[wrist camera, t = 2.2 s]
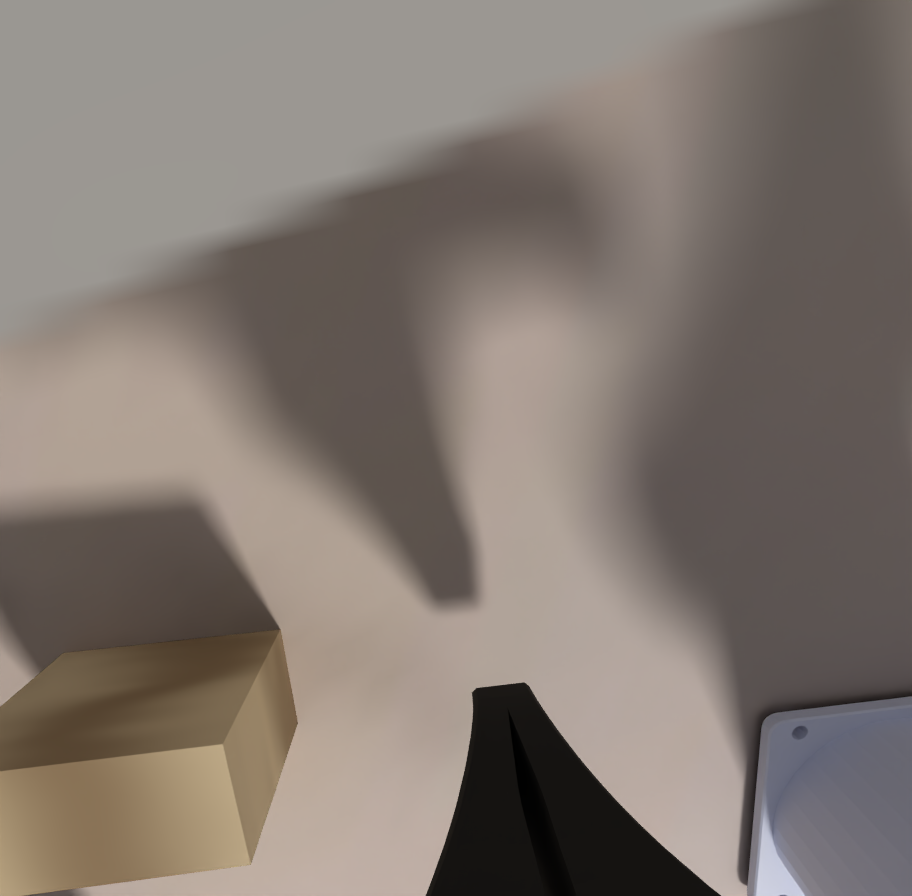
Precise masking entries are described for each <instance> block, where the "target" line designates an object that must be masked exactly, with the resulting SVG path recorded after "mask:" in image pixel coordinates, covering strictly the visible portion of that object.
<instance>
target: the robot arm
mask: <svg viewBox="0 0 912 896" xmlns="http://www.w3.org/2000/svg"><path fill="white" fill-rule="evenodd" d="M472 697H473V722H472V731H471V738H470V744H469V750H468V756H467V762H466V767H465V771H464V776H463V780H462V784H461V788H460V792H459V797H458V801H457V804H456V808H455V812H454V815H453V819H452V822H451V825H450V829H449V832H448V835H447V838H446V841H445V844H444V847H443V850H442V853H441V856H440V859H439V861H438V864H437V867H436V870H435V873H434V875H433V878H432V881H431V884H430V886H429V889H428V891H427V894H426V896H721V895H720V894H718V893H717V892H716V891H714V890H713V889H712V888H711V887H709V886H708V885H707V884H706V883H705V882H704V881H702V880H701V879H700V878H699V877H698V876H697V875H695V874H694V873H693V872H692V871H691V870H690V869H688V868H687V867H686V866H685V865H684V864H683V863H682V862H680V861H679V860H678V859H677V858H676V857H675V856H673V855H672V854H671V853H670V852H669V851H668V850H666V849H665V848H664V847H663V846H662V845H661V844H660V843H659V842H658V841H657V840H656V839H655V838H653V837H652V836H651V835H650V834H649V833H648V832H647V831H646V830H645V829H644V828H643V827H642V826H641V825H640V824H639V823H638V822H637V821H636V820H635V819H634V818H633V817H632V816H631V815H630V814H629V813H628V812H627V811H626V810H625V809H624V808H623V807H622V806H621V805H620V804H619V803H618V802H617V801H616V800H615V799H614V797H613V796H612V795H611V794H610V793H609V792H608V791H607V790H606V789H605V788H604V787H603V785H602V784H601V783H600V782H599V781H598V780H597V778H596V777H595V776H594V775H593V774H592V773H591V772H590V770H589V769H588V768H587V767H586V766H585V764H584V763H583V762H582V761H581V760H580V758H579V757H578V756H577V755H576V753H575V752H574V751H573V749H572V748H571V747H570V746H569V744H568V743H567V742H566V740H565V739H564V738H563V736H562V735H561V734H560V733H559V731H558V730H557V728H556V727H555V726H554V724H553V723H552V721H551V720H550V719H549V717H548V716H547V714H546V713H545V711H544V710H543V708H542V707H541V705H540V704H539V702H538V701H537V699H536V697H535V696H534V694H533V692H532V691H531V689H530V687H529V686H528V685H527V684H526V683H516V684H508V685H499V686H491V687H482V688H476V689H475V690H474V691H473V692H472ZM747 896H912V696H910V697H902V698H894V699H885V700H877V701H869V702H860V703H852V704H844V705H836V706H827V707H819V708H811V709H803V710H794V711H786V712H778V713H774V714H771V715H769V716H768V717H766V719H765V720H764V721H763V724H762V728H761V739H760V750H759V761H758V773H757V784H756V795H755V807H754V818H753V829H752V841H751V852H750V863H749V875H748V886H747Z"/></svg>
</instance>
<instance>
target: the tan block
mask: <svg viewBox="0 0 912 896" xmlns="http://www.w3.org/2000/svg"><path fill="white" fill-rule="evenodd" d="M297 724H298V722H297V716H296V711H295V705H294V700H293V695H292V689H291V684H290V678H289V673H288V668H287V662H286V657H285V651H284V646H283V640H282V635H281V630H280V629H279V630H270V631H261V632H252V633H243V634H233V635H224V636H215V637H206V638H197V639H188V640H178V641H169V642H160V643H151V644H142V645H133V646H123V647H114V648H105V649H96V650H87V651H78V652H69V653H63V654H62V655H60V656H59V657H58V658H57V659H56V660H55V661H53V662H52V663H51V664H50V665H49V666H48V667H46V668H45V669H44V670H43V671H42V672H41V673H39V674H38V675H37V676H36V677H35V678H34V679H32V680H31V681H30V682H29V683H28V684H27V685H25V686H24V687H23V688H22V689H21V690H19V691H18V692H17V693H16V694H15V695H14V696H12V697H11V698H10V699H9V700H8V701H7V702H5V703H4V704H3V705H2V706H1V707H0V896H25V895H32V894H39V893H47V892H54V891H62V890H69V889H76V888H84V887H91V886H98V885H106V884H113V883H120V882H128V881H135V880H143V879H150V878H157V877H165V876H172V875H179V874H187V873H194V872H202V871H209V870H216V869H224V868H231V867H238V866H246V865H251V862H252V859H253V856H254V853H255V850H256V847H257V844H258V841H259V838H260V835H261V832H262V829H263V826H264V823H265V820H266V817H267V814H268V811H269V808H270V805H271V802H272V799H273V796H274V793H275V790H276V787H277V784H278V781H279V778H280V775H281V772H282V769H283V766H284V763H285V760H286V757H287V754H288V751H289V748H290V745H291V742H292V739H293V736H294V733H295V730H296V727H297Z"/></svg>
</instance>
